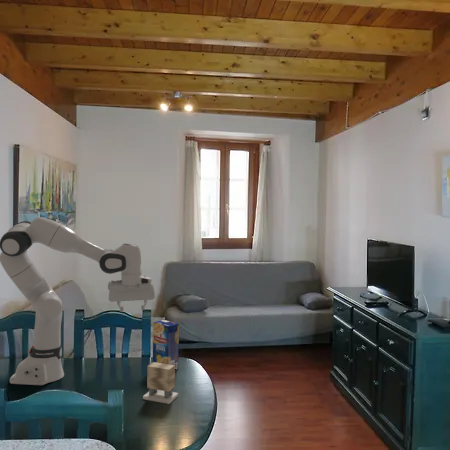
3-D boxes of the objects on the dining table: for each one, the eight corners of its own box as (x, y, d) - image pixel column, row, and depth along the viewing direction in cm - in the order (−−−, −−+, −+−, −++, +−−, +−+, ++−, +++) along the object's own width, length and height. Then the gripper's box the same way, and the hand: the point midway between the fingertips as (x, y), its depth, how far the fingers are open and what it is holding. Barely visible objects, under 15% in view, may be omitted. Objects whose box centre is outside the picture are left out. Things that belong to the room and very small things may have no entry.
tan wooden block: (147, 387, 175) (147, 366, 175) (153, 383, 180) (153, 362, 180) (169, 391, 172) (169, 369, 172) (174, 386, 177) (174, 365, 176)
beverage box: (162, 363, 215) (163, 319, 214) (178, 368, 208) (178, 323, 208) (152, 366, 210) (152, 322, 209) (168, 372, 203) (168, 326, 202)
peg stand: (142, 399, 175) (143, 388, 174) (152, 391, 182) (152, 381, 182) (169, 403, 171) (169, 393, 170) (178, 395, 178) (178, 385, 178)
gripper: (106, 281, 187) (107, 313, 188) (154, 279, 190) (155, 310, 191) (108, 279, 194) (109, 310, 194) (154, 277, 197) (155, 307, 197)
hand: (132, 310), depth 192 cm, fingers open, 8 cm apart
